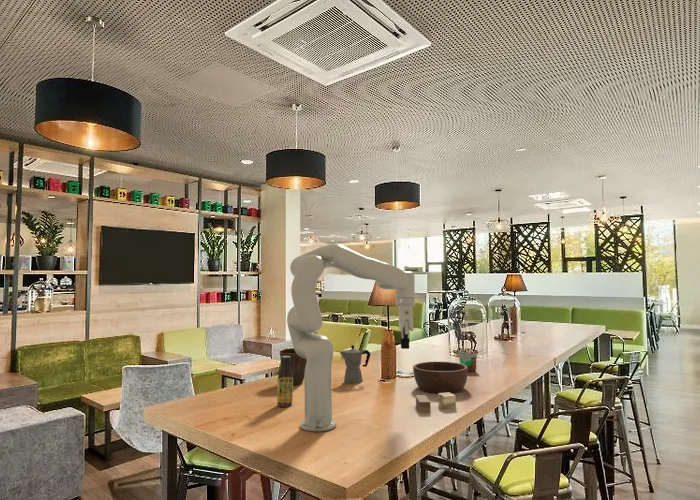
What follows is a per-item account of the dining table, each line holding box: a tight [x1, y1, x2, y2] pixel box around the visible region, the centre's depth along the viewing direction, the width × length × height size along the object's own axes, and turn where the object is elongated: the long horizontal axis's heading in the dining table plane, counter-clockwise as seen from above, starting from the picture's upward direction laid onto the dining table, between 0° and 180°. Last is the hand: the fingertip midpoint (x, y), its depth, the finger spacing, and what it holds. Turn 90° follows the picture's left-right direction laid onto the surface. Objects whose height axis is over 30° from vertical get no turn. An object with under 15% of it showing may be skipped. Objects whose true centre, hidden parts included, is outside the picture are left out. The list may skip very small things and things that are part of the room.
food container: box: [458, 350, 478, 373], centre depth 248 cm, size 12×6×10 cm, turn 25°
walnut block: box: [415, 394, 432, 414], centre depth 178 cm, size 4×4×10 cm
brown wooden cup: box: [279, 348, 307, 386], centre depth 225 cm, size 15×15×16 cm
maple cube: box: [437, 392, 457, 410], centre depth 180 cm, size 5×5×5 cm
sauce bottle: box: [276, 356, 294, 408], centre depth 186 cm, size 6×6×20 cm
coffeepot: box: [339, 344, 371, 385], centre depth 227 cm, size 15×9×18 cm, turn 87°
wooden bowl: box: [412, 361, 469, 394], centre depth 210 cm, size 25×25×10 cm
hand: (405, 348), depth 181 cm, fingers closed
